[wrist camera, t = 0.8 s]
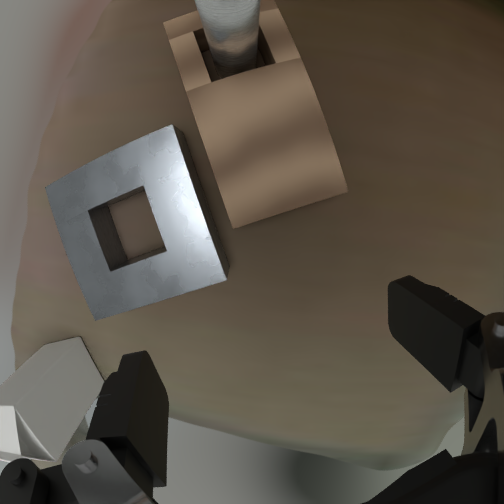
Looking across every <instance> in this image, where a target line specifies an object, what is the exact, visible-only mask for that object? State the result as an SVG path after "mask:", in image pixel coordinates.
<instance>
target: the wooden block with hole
mask: <svg viewBox="0 0 504 504" xmlns="http://www.w3.org/2000/svg"><path fill="white" fill-rule="evenodd" d="M163 24H164V27H165V30H166V33H167V36H168V39H169V42H170V45H171V48H172V51H173V54H174V57H175V60H176V63H177V66H178V69H179V72H180V75H181V78H182V81H183V84H184V87H185V90H186V93H187V96H188V99H189V102H190V105H191V108H192V111H193V114H194V117H195V120H196V123H197V126H198V129H199V132H200V135H201V138H202V140H203V143H204V146H205V149H206V152H207V155H208V158H209V161H210V164H211V167H212V170H213V173H214V176H215V179H216V181H217V184H218V187H219V190H220V193H221V196H222V199H223V202H224V205H225V207H226V210H227V213H228V216H229V219H230V222H231V225H232V228H233V229H235V228H238V227H241V226H244V225H247V224H250V223H253V222H256V221H259V220H262V219H265V218H268V217H271V216H274V215H277V214H280V213H283V212H286V211H289V210H293V209H296V208H299V207H302V206H305V205H308V204H311V203H314V202H318V201H321V200H324V199H327V198H330V197H333V196H337V195H340V194H343V193H346V192H348V188H347V185H346V182H345V178H344V175H343V172H342V168H341V165H340V162H339V159H338V156H337V153H336V150H335V147H334V144H333V141H332V138H331V135H330V132H329V129H328V126H327V123H326V121H325V118H324V115H323V112H322V110H321V107H320V104H319V102H318V99H317V96H316V94H315V91H314V89H313V86H312V84H311V81H310V79H309V76H308V74H307V71H306V69H305V66H304V64H303V62H302V59H301V57H300V55H299V52H298V50H297V48H296V45H295V43H294V41H293V39H292V37H291V34H290V32H289V30H288V28H287V26H286V24H285V22H284V19H283V17H282V15H281V13H280V11H279V9H278V7H277V5H276V3H275V1H274V0H260V14H259V29H258V44H257V46H258V48H259V50H260V53H261V55H262V58H263V60H264V63H265V65H266V66H264V67H260V68H256V69H253V70H249V71H246V72H242V73H239V74H236V75H233V76H229V77H226V78H223V79H220V80H217V81H214V82H211V79H210V76H209V74H208V71H207V68H206V65H205V62H204V60H203V57H202V54H201V52H203V51H206V50H209V49H210V48H209V45H208V42H207V38H206V35H205V32H204V29H203V25H202V22H201V19H200V15H199V12H198V10H197V11H194V12H191V13H188V14H185V15H183V16H180V17H177V18H174V19H172V20H169V21H166V22H164V23H163Z"/></svg>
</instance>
